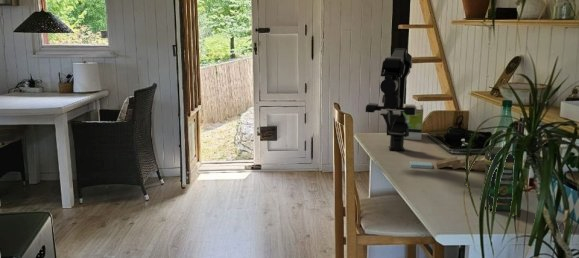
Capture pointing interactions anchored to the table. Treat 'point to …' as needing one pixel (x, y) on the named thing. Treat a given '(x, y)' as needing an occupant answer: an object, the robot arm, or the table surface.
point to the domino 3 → (462, 162)
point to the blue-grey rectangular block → (420, 164)
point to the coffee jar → (505, 183)
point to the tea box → (415, 123)
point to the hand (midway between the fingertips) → (389, 131)
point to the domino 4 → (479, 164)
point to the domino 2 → (447, 162)
